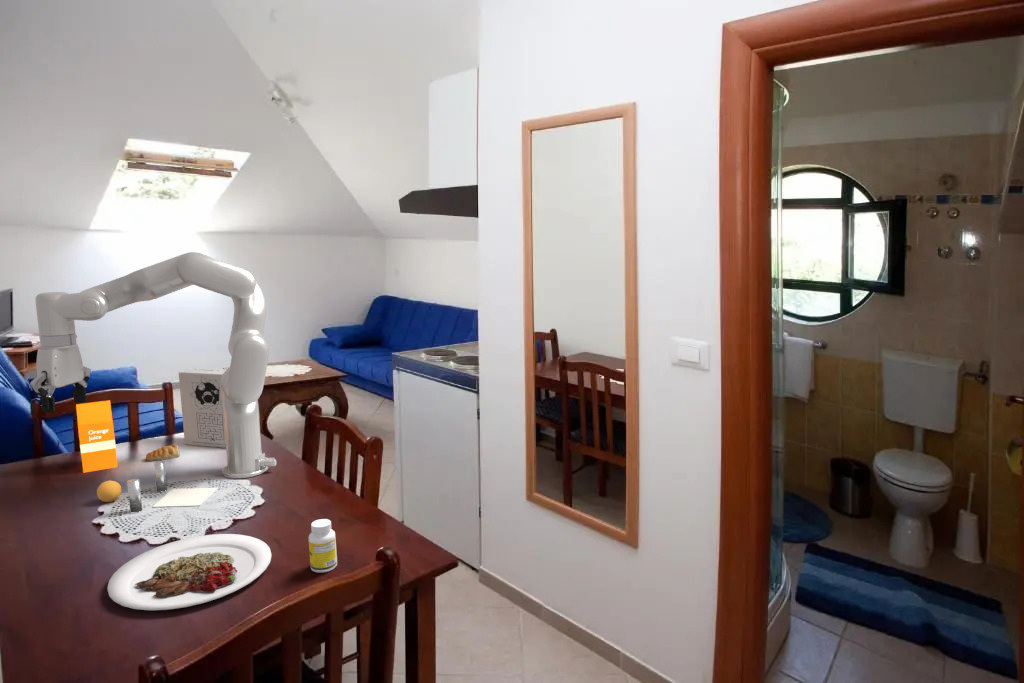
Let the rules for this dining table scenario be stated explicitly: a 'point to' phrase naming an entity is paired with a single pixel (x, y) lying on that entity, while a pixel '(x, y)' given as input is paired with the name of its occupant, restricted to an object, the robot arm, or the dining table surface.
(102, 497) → the ball
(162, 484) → the post right
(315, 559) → the supplement bottle
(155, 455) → the pastry
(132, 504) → the post left
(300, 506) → the dining table surface
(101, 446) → the orange juice
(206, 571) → the plated food
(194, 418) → the cereal box
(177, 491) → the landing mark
